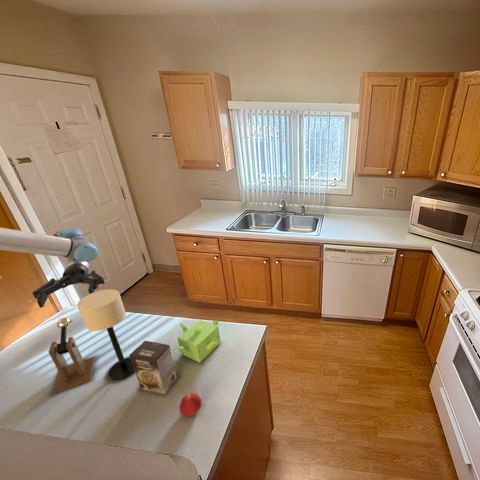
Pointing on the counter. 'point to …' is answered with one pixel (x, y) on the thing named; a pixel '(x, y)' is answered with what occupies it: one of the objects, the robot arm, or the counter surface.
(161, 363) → the coffee box
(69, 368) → the wooden globe stand
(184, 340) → the cube with spouts
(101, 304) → the desk lamp
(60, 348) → the black pendulum
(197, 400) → the red apple
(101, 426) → the counter surface
